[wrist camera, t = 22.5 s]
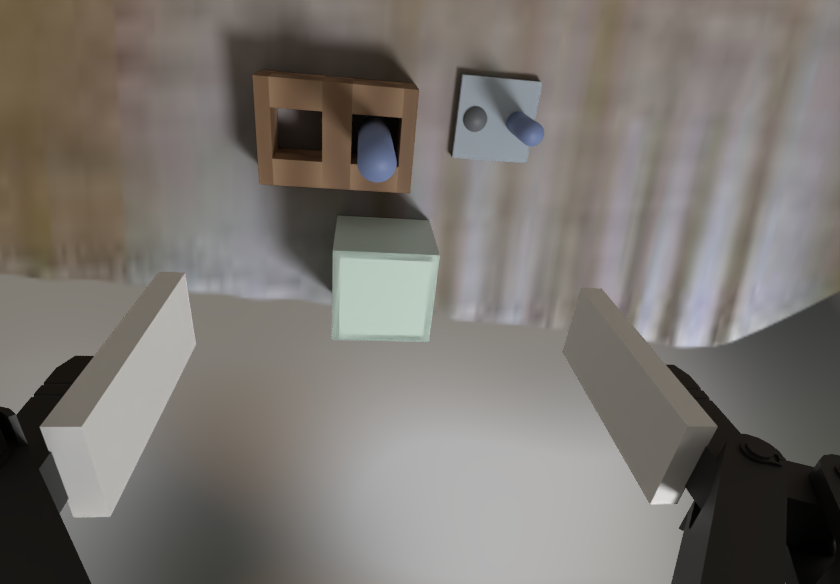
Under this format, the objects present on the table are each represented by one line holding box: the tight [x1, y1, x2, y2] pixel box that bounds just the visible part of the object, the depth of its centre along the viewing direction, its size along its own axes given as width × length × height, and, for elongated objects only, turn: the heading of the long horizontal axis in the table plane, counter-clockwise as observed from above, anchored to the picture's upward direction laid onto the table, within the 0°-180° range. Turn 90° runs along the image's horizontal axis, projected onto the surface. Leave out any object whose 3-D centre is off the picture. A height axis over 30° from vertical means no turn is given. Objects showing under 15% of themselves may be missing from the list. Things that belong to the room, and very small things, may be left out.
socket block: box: [252, 70, 419, 193], centre depth 40 cm, size 12×8×4 cm, turn 84°
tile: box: [451, 74, 544, 163], centre depth 40 cm, size 7×7×5 cm
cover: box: [332, 215, 440, 342], centre depth 44 cm, size 8×8×8 cm
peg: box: [357, 115, 397, 182], centre depth 37 cm, size 3×3×10 cm
